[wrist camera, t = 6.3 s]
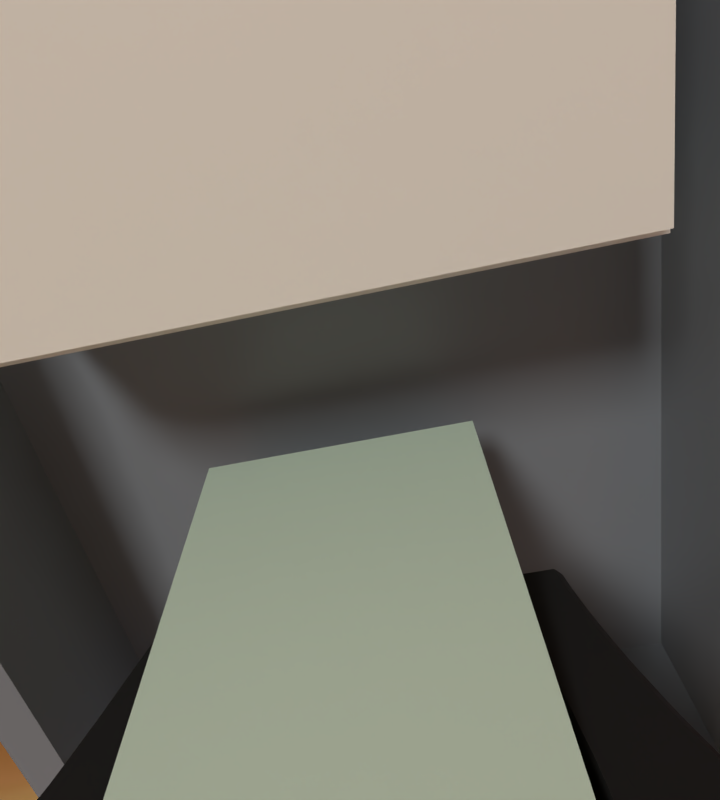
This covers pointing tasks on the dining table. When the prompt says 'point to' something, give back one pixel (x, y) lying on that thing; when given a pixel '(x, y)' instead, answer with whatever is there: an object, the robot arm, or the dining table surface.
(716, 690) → the tote
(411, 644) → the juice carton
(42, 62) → the beige flat block
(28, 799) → the dining table surface
